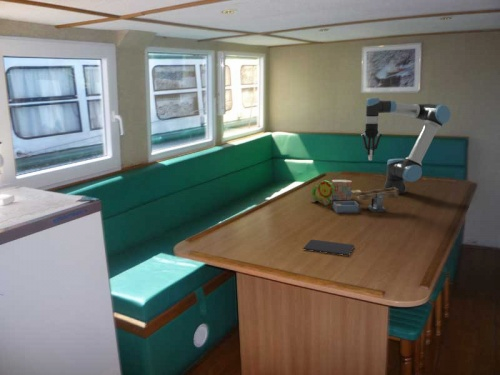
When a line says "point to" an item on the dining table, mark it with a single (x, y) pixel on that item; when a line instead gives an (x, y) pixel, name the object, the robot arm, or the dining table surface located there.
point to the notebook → (329, 247)
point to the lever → (366, 195)
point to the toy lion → (323, 192)
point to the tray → (346, 207)
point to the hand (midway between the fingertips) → (370, 160)
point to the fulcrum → (377, 203)
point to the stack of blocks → (341, 190)
